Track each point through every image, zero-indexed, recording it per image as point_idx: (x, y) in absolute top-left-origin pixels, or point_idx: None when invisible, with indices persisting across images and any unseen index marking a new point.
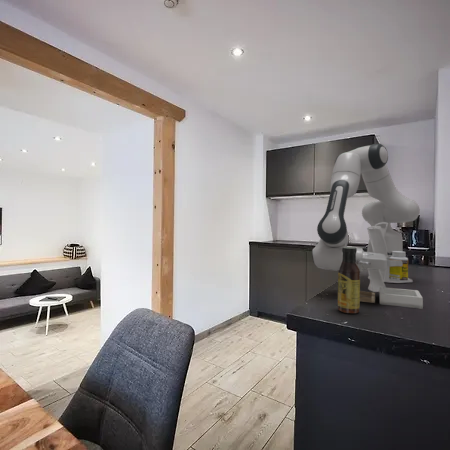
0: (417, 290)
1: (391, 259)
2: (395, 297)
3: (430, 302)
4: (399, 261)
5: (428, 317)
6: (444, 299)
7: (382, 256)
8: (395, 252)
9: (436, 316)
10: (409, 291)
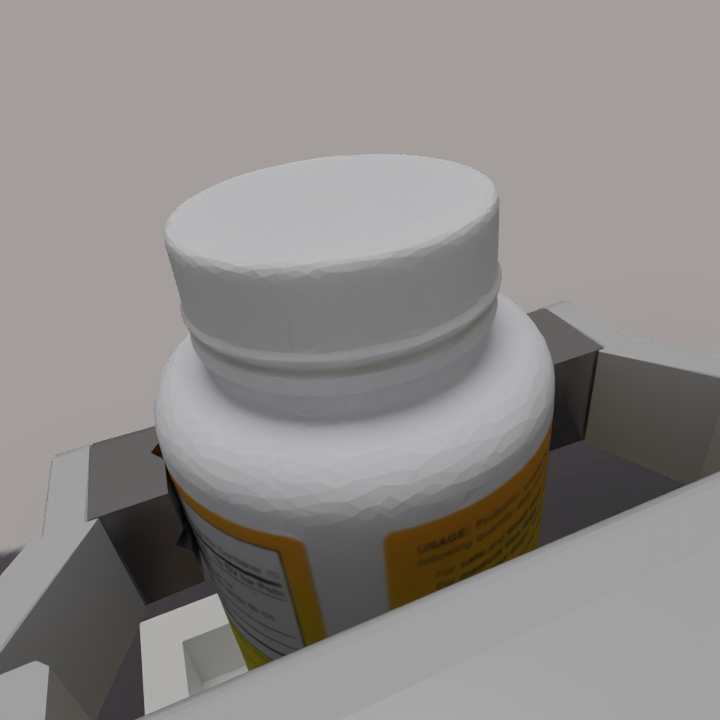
0: (144, 625)
1: (547, 436)
2: None
3: (195, 586)
4: (586, 325)
5: (652, 476)
6: (16, 554)
7: (698, 613)
8: (496, 211)
9: (579, 460)
10: (193, 692)
